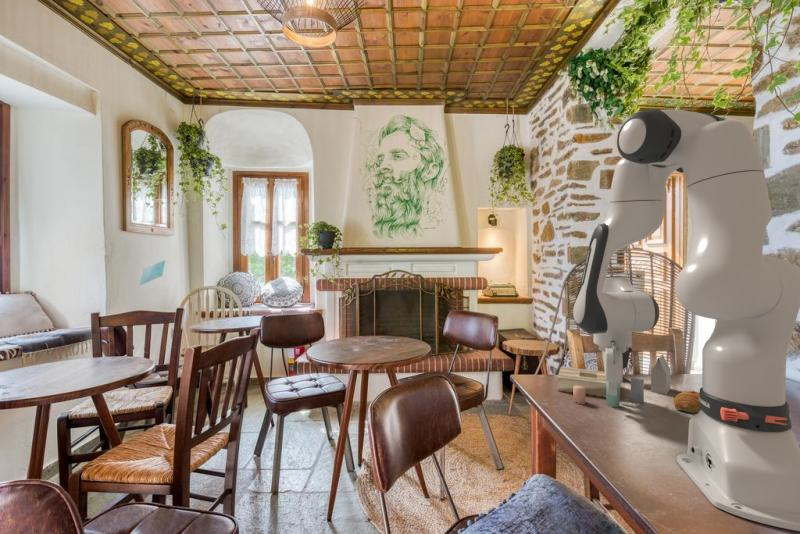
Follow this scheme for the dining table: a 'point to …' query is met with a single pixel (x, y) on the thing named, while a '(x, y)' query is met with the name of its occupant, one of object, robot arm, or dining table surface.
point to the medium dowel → (637, 390)
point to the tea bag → (660, 376)
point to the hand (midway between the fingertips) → (612, 389)
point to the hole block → (583, 381)
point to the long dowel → (612, 397)
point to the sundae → (626, 360)
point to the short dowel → (579, 394)
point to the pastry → (687, 401)
